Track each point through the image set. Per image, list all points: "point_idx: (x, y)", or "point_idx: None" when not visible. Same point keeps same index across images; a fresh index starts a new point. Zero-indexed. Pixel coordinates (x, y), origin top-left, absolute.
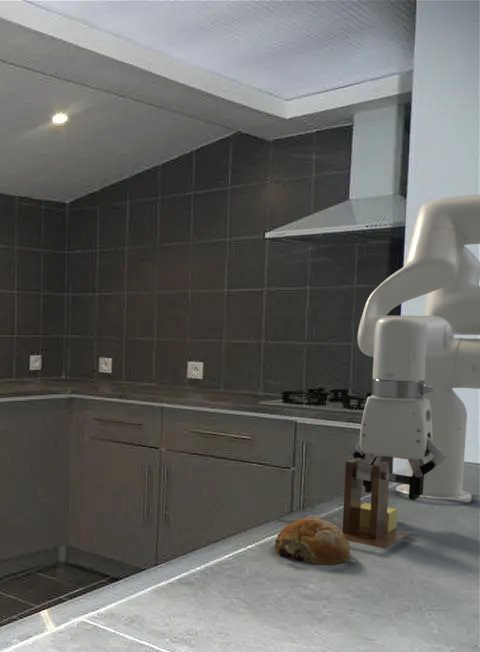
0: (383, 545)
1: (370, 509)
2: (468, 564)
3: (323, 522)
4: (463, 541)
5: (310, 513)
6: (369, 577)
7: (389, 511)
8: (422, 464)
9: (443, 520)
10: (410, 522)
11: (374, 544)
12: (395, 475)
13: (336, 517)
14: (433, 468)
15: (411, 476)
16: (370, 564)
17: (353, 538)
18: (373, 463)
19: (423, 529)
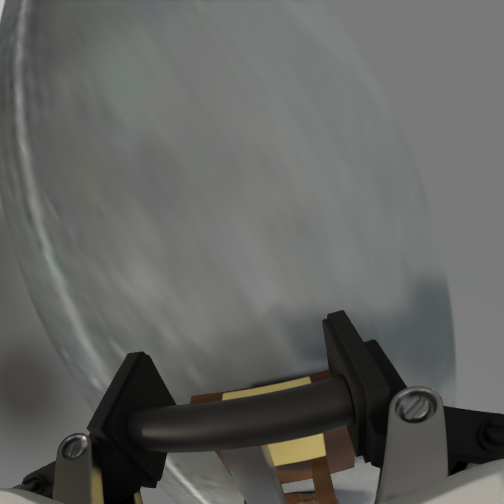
0: (347, 463)
1: (277, 464)
2: (452, 384)
3: None
4: (429, 261)
5: (75, 360)
6: (365, 492)
7: (319, 447)
8: (433, 458)
9: (290, 69)
10: (248, 197)
11: (335, 468)
12: (265, 456)
13: (117, 345)
14: (485, 420)
15: (367, 461)
16: (350, 479)
17: (294, 473)
18: (98, 466)
19: (320, 244)
